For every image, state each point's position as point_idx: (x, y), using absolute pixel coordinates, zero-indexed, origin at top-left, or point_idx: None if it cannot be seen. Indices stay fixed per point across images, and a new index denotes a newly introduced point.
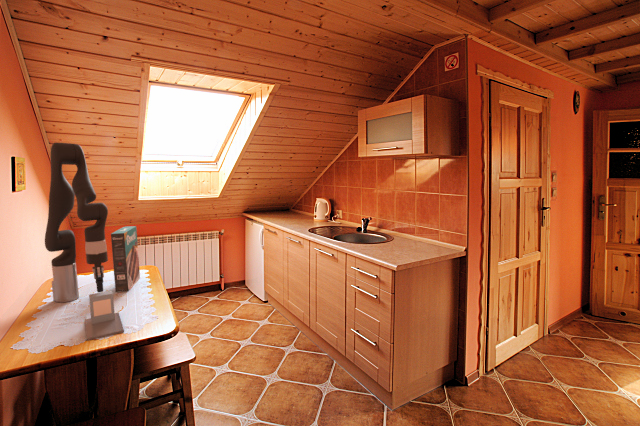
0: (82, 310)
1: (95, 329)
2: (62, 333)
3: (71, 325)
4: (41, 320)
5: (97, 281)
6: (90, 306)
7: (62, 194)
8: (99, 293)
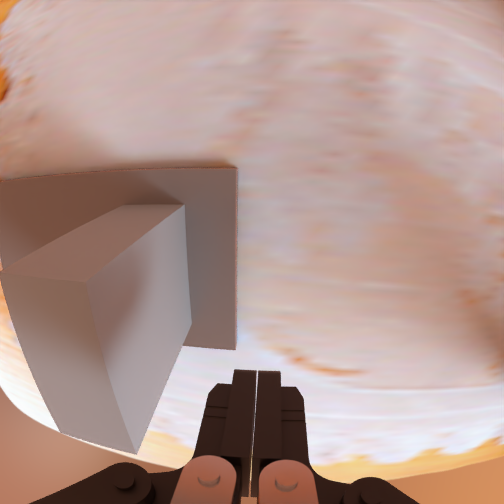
0: (455, 174)
1: (50, 220)
2: (118, 59)
3: (214, 91)
4: None
5: (82, 493)
6: (55, 242)
7: None
8: (88, 374)
